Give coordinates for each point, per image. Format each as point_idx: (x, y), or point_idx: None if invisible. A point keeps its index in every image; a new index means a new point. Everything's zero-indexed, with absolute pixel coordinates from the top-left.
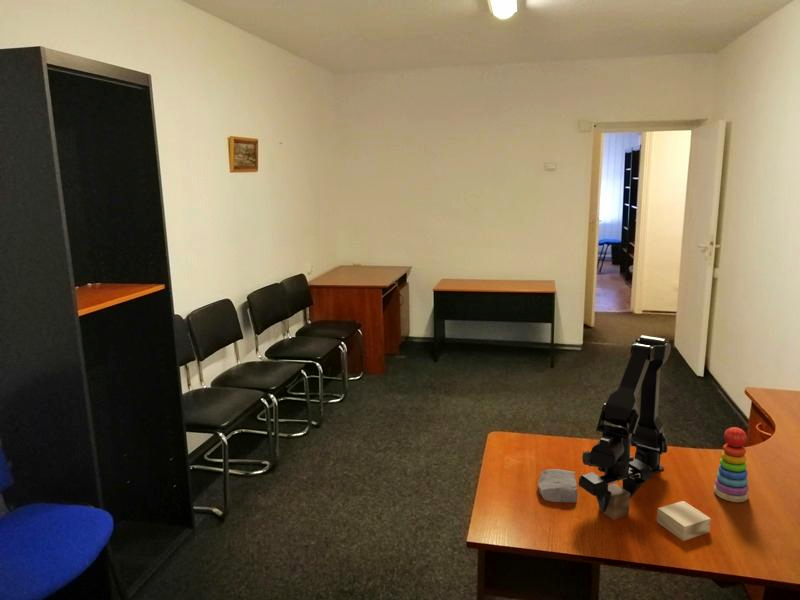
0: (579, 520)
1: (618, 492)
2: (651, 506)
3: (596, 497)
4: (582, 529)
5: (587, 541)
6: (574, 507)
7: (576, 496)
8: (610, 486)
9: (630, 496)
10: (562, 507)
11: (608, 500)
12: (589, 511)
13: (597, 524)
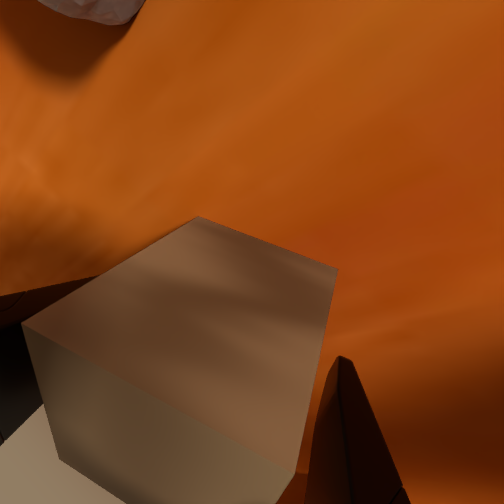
0: (43, 190)
1: (143, 489)
2: (498, 467)
3: (11, 296)
4: (26, 238)
5: (13, 285)
6: (79, 75)
7: (66, 12)
8: (159, 421)
9: (309, 490)
10: (10, 7)
11: (30, 406)
12: (134, 184)
13: (98, 273)
